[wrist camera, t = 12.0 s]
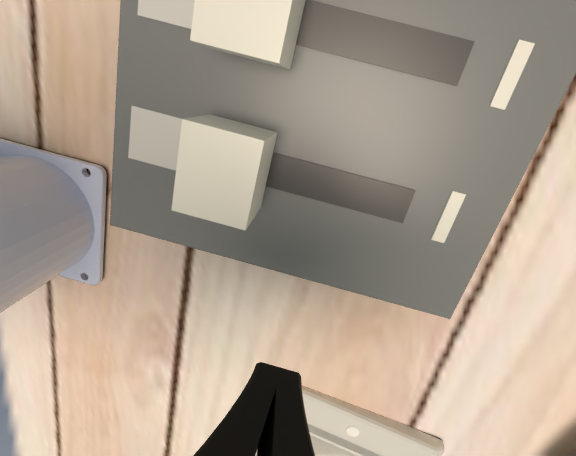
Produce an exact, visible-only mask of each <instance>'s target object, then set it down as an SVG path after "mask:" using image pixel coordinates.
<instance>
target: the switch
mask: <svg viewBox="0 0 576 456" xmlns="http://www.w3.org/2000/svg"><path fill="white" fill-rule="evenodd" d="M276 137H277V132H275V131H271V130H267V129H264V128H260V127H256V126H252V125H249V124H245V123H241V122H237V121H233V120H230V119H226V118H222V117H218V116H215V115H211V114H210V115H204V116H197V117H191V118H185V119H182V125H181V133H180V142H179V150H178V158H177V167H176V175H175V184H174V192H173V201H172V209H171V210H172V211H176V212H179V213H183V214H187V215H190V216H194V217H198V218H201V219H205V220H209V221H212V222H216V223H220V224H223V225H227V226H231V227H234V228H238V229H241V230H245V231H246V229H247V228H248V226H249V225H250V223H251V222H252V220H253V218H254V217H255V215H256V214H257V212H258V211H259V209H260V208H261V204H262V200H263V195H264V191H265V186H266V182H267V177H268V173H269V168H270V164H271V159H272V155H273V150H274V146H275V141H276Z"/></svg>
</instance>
